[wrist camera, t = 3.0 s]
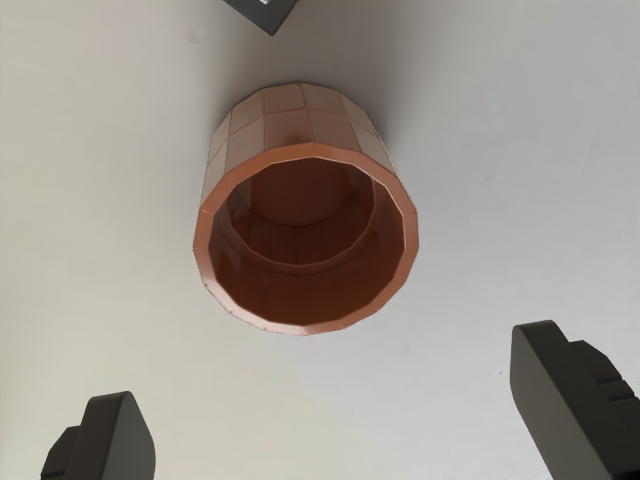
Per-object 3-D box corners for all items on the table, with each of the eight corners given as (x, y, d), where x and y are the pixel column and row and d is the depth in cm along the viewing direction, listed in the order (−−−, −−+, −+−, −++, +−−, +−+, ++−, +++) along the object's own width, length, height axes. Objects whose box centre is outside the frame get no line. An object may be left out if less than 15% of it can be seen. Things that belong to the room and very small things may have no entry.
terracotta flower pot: (189, 95, 20) (166, 166, 15) (373, 65, 20) (413, 125, 15) (230, 250, 24) (222, 350, 18) (387, 223, 24) (423, 316, 18)
